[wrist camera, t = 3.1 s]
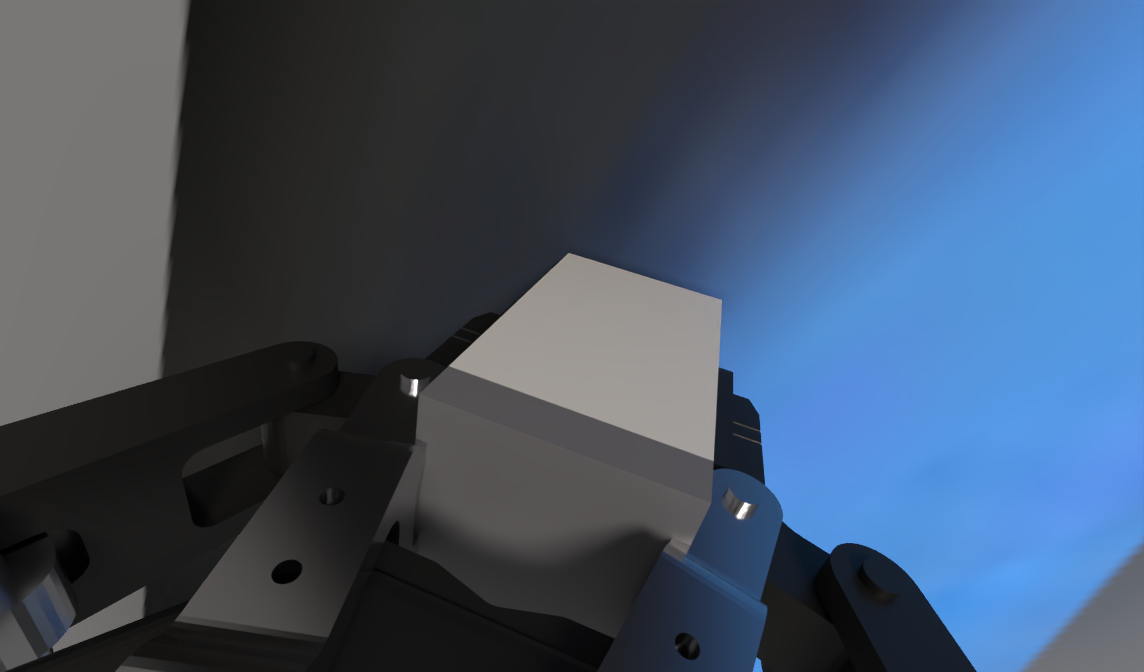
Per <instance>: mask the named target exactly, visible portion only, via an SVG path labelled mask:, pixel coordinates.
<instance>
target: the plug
mask: <svg viewBox="0 0 1144 672" xmlns="http://www.w3.org/2000/svg"><path fill="white" fill-rule="evenodd" d="M721 310H722V300H720V299H717V298H713V297H710V296H707V295H704V294H700V293H697V292H694V291H691V290H687V289H684V288H681V287H678V286H674V285H671V284H668V283H665V282H661V281H658V280H655V279H652V278H648V277H645V276H642V275H639V274H635V273H632V272H629V271H626V270H622V269H619V268H616V267H613V266H609V265H606V264H603V263H600V262H596V261H593V260H590V259H587V258H583V257H580V256H577V255H574V254H570V253H568V254H567V255H566V256H565V257H564V258H563V259H562V260H561V261H560V262H559V263H558V264H557V265H556V266H554V267H553V268H552V269H551V270H550V271H549V272H548V273H547V274H546V275H545V276H544V277H543V278H542V279H541V280H540V281H539V282H537V283H536V284H535V285H534V286H533V287H532V288H531V289H530V290H529V291H528V292H527V293H526V294H525V295H524V296H523V297H522V298H520V299H519V300H518V301H517V302H516V303H515V304H514V305H513V306H512V307H511V308H510V309H509V310H508V311H507V312H506V313H505V314H503V315H502V316H501V317H500V318H499V319H498V320H497V321H496V322H495V323H494V324H493V325H492V326H491V327H490V328H489V329H488V330H486V331H485V332H484V333H483V334H482V335H481V336H480V337H479V338H478V339H477V340H476V341H475V342H474V343H473V344H472V345H471V346H469V347H468V348H467V349H466V350H465V351H464V352H463V353H462V354H461V355H460V356H459V357H458V358H457V359H456V360H455V361H454V362H452V363H451V364H450V365H449V366H448V367H447V368H446V369H445V370H444V371H443V372H442V373H441V374H440V375H439V376H438V377H437V378H435V379H434V380H433V381H432V382H431V383H430V384H429V385H428V386H427V387H426V388H425V389H424V390H423V391H422V392H421V393H420V394H419V401H418V414H417V428H416V439H419V440H421V441H424V442H426V443H427V451H426V463H425V468H424V470H423V473H422V476H421V479H420V483H419V487H418V491H417V497H416V507H415V520H414V532H415V533H417V534H419V541H418V552H417V554H419V555H421V556H424V557H426V558H428V559H431V560H433V561H435V562H437V563H438V564H440V565H441V566H442V567H443V568H445V569H446V570H447V571H448V572H450V573H451V574H452V575H453V576H455V577H456V578H457V579H458V580H460V581H461V582H462V583H463V584H465V585H466V586H467V587H468V588H470V589H471V590H472V591H473V592H475V593H476V594H477V595H478V596H480V597H481V598H482V599H483V600H485V601H486V602H488V603H489V604H491V605H494V606H498V607H503V608H510V609H516V610H523V611H529V612H536V613H542V614H548V615H555V616H561V617H566V618H568V619H570V620H573V621H575V622H577V623H580V624H582V625H584V626H587V627H589V628H591V629H594V630H596V631H598V632H601V633H603V634H605V635H608V636H610V637H612V638H616V636H617V634H618V632H619V631H620V629H621V627H622V625H623V623H624V621H625V620H626V618H627V616H628V614H629V612H630V610H631V609H632V607H633V605H634V603H635V601H636V599H637V597H638V596H639V594H640V592H641V590H642V588H643V586H644V585H645V583H646V581H647V579H648V577H649V575H650V574H651V572H652V570H653V568H654V566H655V564H656V563H657V561H658V559H659V557H660V555H661V553H662V552H663V550H664V548H665V546H666V545H667V543H668V544H669V543H670V541H671V539H672V538H673V539H676V540H678V541H681V542H684V543H686V544H689V545H691V543H692V541H693V539H694V537H695V535H696V533H697V531H698V529H699V527H700V525H701V523H702V521H703V519H704V517H705V515H706V513H707V511H708V509H709V507H710V505H711V502H712V483H713V464H714V444H715V425H716V406H717V387H718V367H719V348H720V329H721Z"/></svg>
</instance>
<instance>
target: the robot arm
mask: <svg viewBox="0 0 1144 672" xmlns="http://www.w3.org/2000/svg"><path fill="white" fill-rule="evenodd" d="M516 302H517V301H515V302H514V303H513V304H512V305H511V306H510V307H509V308H508V309H506V310H505V311H504V312H503V313H502V314H501V315H497V314H494V313H491V312H490V313H487V314H484V315H481V316H478V317H475V318H473V319H472V320H470V321H469V322H468V323H467V324H466V325H465V326H463V328H462V329H460V330H459V331H457V332H456V333H455V334H454V336H453V337H450V338H449V339H448V340H447V341H446V342H445V343H443V344H442V345H441V346H440V347H439V348H437V349H436V350H435V351H434V352H433V353H432V354H430V355H429V356H428V357H427V358H426V359H418V358H409V359H402V360H398V361H394V362H392V363H390V364H388V365H386V366H385V367H383V368H382V369H381V370H380V372H379V373H378V375H377V376H374V375H365V374H358V373H350V372H343V371H338V359H337V355H336V354H335V352H334V351H333V350H331V349H330V348H328V347H326V346H324V345H321V344H318V343H313V342H304V341H296V342H286V343H281V344H277V345H273V346H270V347H267V348H263V349H260V350H257V351H253V352H250V353H246V354H243V355H240V356H236V357H233V358H230V359H226V360H223V361H219V362H216V363H213V364H209V365H206V366H202V367H199V368H196V369H192V370H189V371H186V372H182V373H179V374H175V375H172V376H169V377H165V378H162V379H158V380H155V381H152V382H148V383H145V384H142V385H138V386H135V387H131V388H128V389H125V390H121V391H118V392H115V393H111V394H108V395H105V396H101V397H98V398H94V399H91V400H87V401H84V402H81V403H77V404H74V405H71V406H67V407H64V408H60V409H57V410H54V411H50V412H47V413H44V414H40V415H37V416H33V417H30V418H27V419H23V420H20V421H16V422H13V423H10V424H6V425H3V426H0V672H753V668H754V664H755V660H756V657H757V658H758V659H760V660H761V665H762V670H763V672H976V670H975V669H974V667H973V666H972V664H971V663H970V661H969V660H968V659H967V657H966V656H965V654H964V653H963V651H962V650H961V648H960V647H959V646H958V644H957V643H956V641H955V640H954V638H953V637H952V635H951V634H950V633H949V631H948V630H947V628H946V627H945V625H944V624H943V622H942V621H941V619H940V618H939V617H938V615H937V614H936V612H935V611H934V609H933V608H932V606H931V605H930V604H929V602H928V601H927V599H926V598H925V596H924V595H923V593H922V592H921V591H920V589H919V588H918V586H917V585H916V584H915V582H914V581H913V580H912V579H911V578H910V576H909V575H908V574H907V573H906V572H905V571H904V570H903V569H902V568H900V567H899V566H898V565H897V564H896V563H894V562H893V561H892V560H890V559H889V558H887V557H886V556H884V555H883V554H881V553H879V552H877V551H876V550H873V549H871V548H869V547H866V546H863V545H859V544H854V543H845V544H840V545H838V546H837V547H835V548H834V549H833V551H832V552H831V554H828V553H827V552H825V551H824V550H822V549H820V548H819V547H817V546H816V545H814V544H812V543H811V542H809V541H807V540H806V539H804V538H803V537H801V536H800V535H798V534H797V533H795V532H794V531H793V530H792V529H790V528H789V527H788V526H787V525H786V524H785V523H784V522H783V521H782V519H783V512H782V508H781V505H780V503H779V502H778V500H777V498H776V497H775V496H774V494H773V493H772V492H771V491H770V490H769V489H768V488H767V487H766V486H765V479H764V467H763V455H762V445H761V433H760V419H759V414H758V413H757V411H756V409H755V408H754V406H753V405H752V403H751V402H750V400H749V399H747V398H744V397H741V396H738V395H735V394H733V372H731V371H728V370H725V369H722V368H719V367H718V387H717V406H716V425H715V444H714V464H713V483H712V502H711V505H710V507H709V509H708V511H707V513H706V515H705V517H704V519H703V521H702V523H701V525H700V527H699V529H698V531H697V533H696V535H695V537H694V539H693V541H692V543H691V545H689V544H686V543H684V542H681V541H678V540H676V539H673V538H672V539H671V541H670V543H669V544H668V543H667V545H666V546H665V548H664V550H663V552H662V553H661V555H660V557H659V559H658V561H657V563H656V564H655V566H654V568H653V570H652V572H651V574H650V575H649V577H648V579H647V581H646V583H645V585H644V586H643V588H642V590H641V592H640V594H639V596H638V597H637V599H636V601H635V603H634V605H633V607H632V609H631V610H630V612H629V614H628V616H627V618H626V620H625V621H624V623H623V625H622V627H621V629H620V631H619V632H618V634H617V636H616V638H612V637H610V636H608V635H605V634H603V633H601V632H598V631H596V630H594V629H591V628H589V627H587V626H584V625H582V624H580V623H577V622H575V621H573V620H570V619H568V618H566V617H561V616H555V615H548V614H542V613H536V612H529V611H523V610H516V609H510V608H503V607H498V606H494V605H491V604H489V603H488V602H486V601H485V600H483V599H482V598H481V597H480V596H478V595H477V594H476V593H475V592H473V591H472V590H471V589H470V588H468V587H467V586H466V585H465V584H463V583H462V582H461V581H460V580H458V579H457V578H456V577H455V576H453V575H452V574H451V573H450V572H448V571H447V570H446V569H445V568H443V567H442V566H441V565H440V564H438V563H437V562H435V561H433V560H431V559H428V558H426V557H424V556H421V555H419V554H417V552H418V541H419V534H417V533H415V532H414V520H415V507H416V497H417V491H418V487H419V483H420V479H421V476H422V473H423V470H424V468H425V463H426V451H427V443H426V442H424V441H421V440H419V439H416V428H417V414H418V401H419V394H420V393H421V392H422V391H423V390H424V389H425V388H426V387H427V386H428V385H429V384H430V383H431V382H432V381H433V380H434V379H435V378H437V377H438V376H439V375H440V374H441V373H442V372H443V371H444V370H445V369H446V368H447V367H448V366H449V365H450V364H451V363H452V362H454V361H455V360H456V359H457V358H458V357H459V356H460V355H461V354H462V353H463V352H464V351H465V350H466V349H467V348H468V347H469V346H471V345H472V344H473V343H474V342H475V341H476V340H477V339H478V338H479V337H480V336H481V335H482V334H483V333H484V332H485V331H486V330H488V329H489V328H490V327H491V326H492V325H493V324H494V323H495V322H496V321H497V320H498V319H499V318H500V317H501V316H502V315H503V314H505V313H506V312H507V311H508V310H509V309H510V308H511V307H512V306H513V305H514V304H515V303H516ZM258 426H260V427H261V435H262V443H263V444H261V445H258V446H256V447H254V448H252V449H249V450H247V451H245V452H242V453H240V454H238V455H235V456H233V457H231V458H229V459H226V460H224V461H222V462H219V463H217V464H215V465H213V466H210V467H208V468H206V469H203V470H201V471H199V472H196V473H194V474H192V475H190V476H187V477H185V478H183V479H182V469H183V467H184V465H185V463H186V462H187V461H188V460H189V458H191V457H192V456H193V455H194V454H195V453H197V452H198V451H200V450H202V449H204V448H206V447H209V446H211V445H214V444H216V443H219V442H221V441H224V440H226V439H228V438H231V437H233V436H236V435H238V434H241V433H243V432H246V431H248V430H251V429H253V428H255V427H258ZM237 535H239V536H238V537H237V538H236V540H235V541H234V542H233V544H232V545H231V546H230V548H229V549H228V550H227V552H226V553H225V554H224V556H223V557H222V558H221V560H220V561H219V562H218V564H217V565H216V566H215V568H214V569H213V570H212V572H211V573H210V575H209V576H208V577H207V579H206V580H205V581H204V583H203V584H202V585H201V587H200V588H199V589H198V591H197V592H196V593H195V595H194V596H193V597H192V599H191V600H189V601H187V602H184V603H181V604H179V605H176V606H174V607H171V608H168V609H166V610H163V611H161V612H158V613H155V614H153V615H150V616H148V617H145V618H142V619H140V620H137V621H135V622H132V623H129V624H127V625H124V626H122V627H119V628H116V629H114V630H111V631H109V632H106V633H104V634H101V635H98V636H96V637H93V638H90V639H88V640H85V641H83V642H80V643H78V644H75V645H72V646H70V647H67V648H64V649H62V650H59V651H57V652H54V653H53V648H52V647H53V646H54V645H55V644H56V643H57V642H58V641H59V640H60V638H61V637H62V636H63V635H64V634H65V632H66V631H67V630H68V628H70V627H72V626H73V625H75V624H77V623H79V622H81V621H82V620H84V619H86V618H88V617H90V616H91V615H93V614H95V613H97V612H99V611H101V610H102V609H104V608H106V607H108V606H110V605H112V604H113V603H115V602H117V601H119V600H121V599H122V598H124V597H126V596H128V595H130V594H132V593H133V592H135V591H137V590H139V589H140V588H142V587H144V586H146V585H148V584H150V583H151V582H153V581H155V580H157V579H159V578H161V577H162V576H164V575H166V574H168V573H170V572H171V571H173V570H175V569H177V568H179V567H181V566H182V565H184V564H186V563H188V562H190V561H191V560H193V559H195V558H197V557H199V556H200V555H202V554H204V553H206V552H208V551H210V550H211V549H213V548H215V547H217V546H219V545H220V544H222V543H224V542H226V541H228V540H230V539H231V538H233V537H235V536H237Z"/></svg>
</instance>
